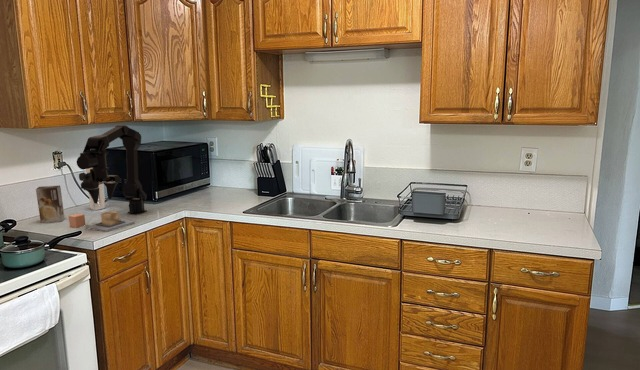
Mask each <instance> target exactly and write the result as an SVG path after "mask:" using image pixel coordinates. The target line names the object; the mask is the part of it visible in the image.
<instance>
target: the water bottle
mask: <svg viewBox="0 0 640 370" xmlns="http://www.w3.org/2000/svg"><path fill="white" fill-rule="evenodd" d="M90 169H92V168H89V169H85V170H86V172H85V173H86V174H87V173H90ZM98 188H100V189H99V196H98V202H97V204H95V203H94V201H93V199H92V197H91V195H90V194H89V193H88V198H89V205H90V210H93V211H99V210H103V209H105V207H106V202H105V201H106V200H105V194H104V184H99V186H98Z"/></svg>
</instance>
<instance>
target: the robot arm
mask: <svg viewBox="0 0 640 370" xmlns="http://www.w3.org/2000/svg"><path fill="white" fill-rule="evenodd" d="M117 139H120V140H121V141H122V145H123V147H124V148H125V150H126V178H127V179H126V181H125V183H122V193H123V196H124V198H125V199H124V200H125V201H128V209H129V210H128V212H127V214H128V213H130V214H135V215H138V214H142V213H144V212H145V213H146V212H147V211H148V210H147V209H145V201H146V200H147V198H148V197H147V196H148V194H147V193H146V192H145V191H144V190H143V185H142V183H141V181H140V180H139V163H138V158H139V157H138V153H139V152H138V151H139V148H140V147H141V145H142V135H141V133H140V132H139V131H137V130H136V129H133V128H130V127H128V126H127V125H124V124H123V125H122V124H121V125H120V124H119V125H115V126H114V127H113V128H111V129H110V130H108V131H106V132H104V133H102V134H99V135H94V136H90V137H88V138H87V141H86V144H85V145H84V148H83V151H82V152H80V153H79V156H78V157H77V159H76V166H77V167H78V168H79V169H80V170H83V172H80V173H79V174H78V178H79V179H78V180H79V181H80V182H81V183H80V189H81V190H83V191H86V192H88V195H89V194H90V195H91V197H92V199H93V201H94V203H95V204H97V202H98V196H99V189H100V188H98V186H99V184H103V186H105V187H106V194H107V197H108V200H111V199H112V197H113V196H114V193H115V190H116V188H117V185H118V184H119V183H120V182H121V177H120V176H119V175H117V174H116V175H115V174H108V171H109V170H110V167H108V166H107V165H108V164H107V155H109V152H108V151H107V148H109V146H110V144H111V143H112V142H114V141H115V140H117ZM89 168H92V169H90V173H87V172H84V170H86V169H89Z"/></svg>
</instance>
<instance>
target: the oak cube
mask: <svg viewBox="0 0 640 370" xmlns="http://www.w3.org/2000/svg"><path fill="white" fill-rule="evenodd" d="M100 216H101V217H100V218H101V222H102V224H103V225H109V226H110V225H113V224H116V223H119V219H120V215H119V212H118V211H112V210H111V211H109V210H108V211H106V212H102V213H100Z"/></svg>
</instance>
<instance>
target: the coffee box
mask: <svg viewBox="0 0 640 370" xmlns="http://www.w3.org/2000/svg"><path fill="white" fill-rule="evenodd" d="M35 193H36V194H35V195H36V200H37V206H38V213H39V221H40V224H45V223H46V224H47V223H48V224H49V223H57V222H58V223H59V222H60V223H61V222H63V221H64V220H65V218H66V217H65V212H64V211H65V210H64V202H63V197H62V196H63V195H62V188H61V185H46V186H45V185H44V186H38V187H37V188H36V189H35Z"/></svg>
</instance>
